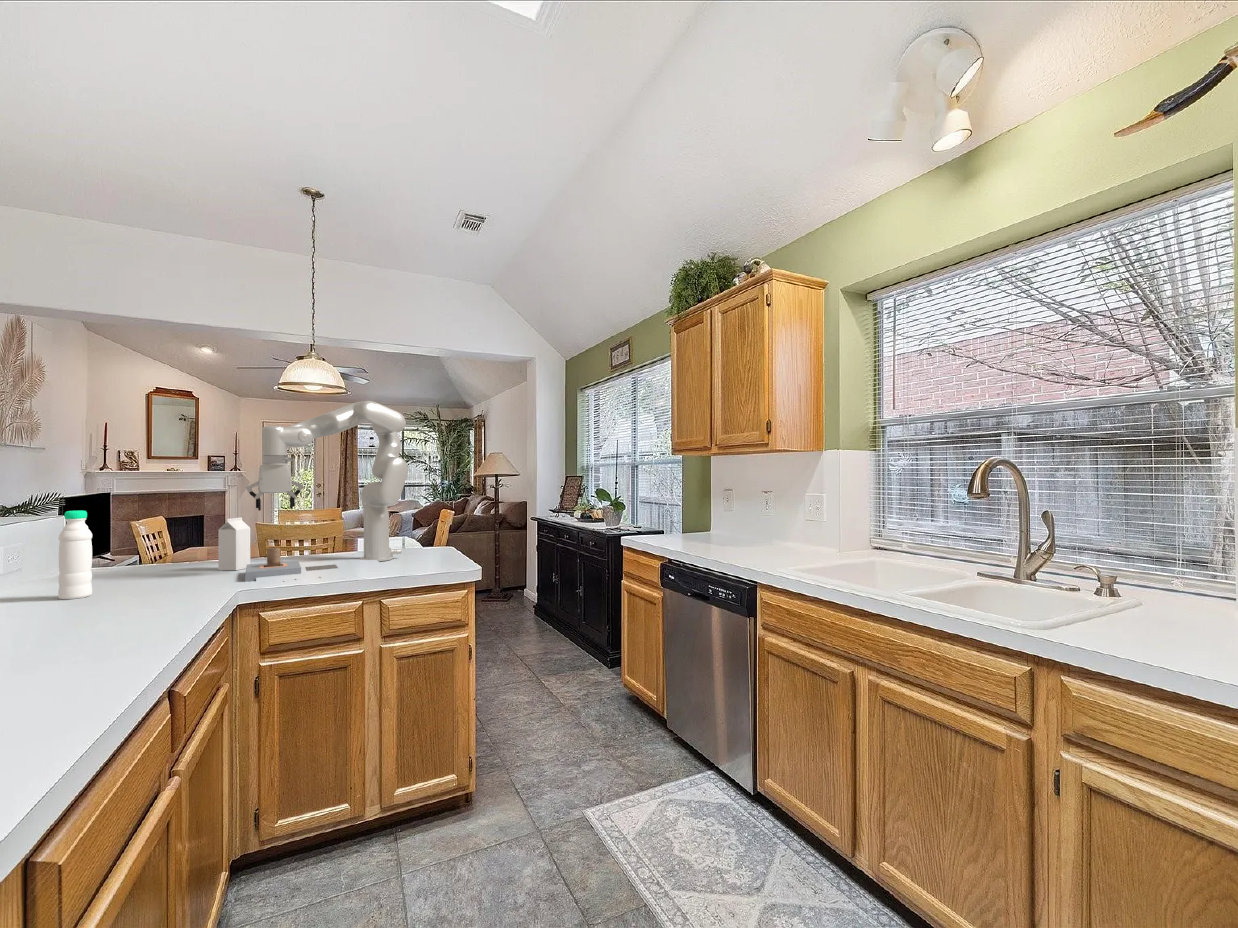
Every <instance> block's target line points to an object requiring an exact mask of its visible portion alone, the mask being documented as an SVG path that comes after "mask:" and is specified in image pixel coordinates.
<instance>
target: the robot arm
mask: <svg viewBox="0 0 1238 928" xmlns="http://www.w3.org/2000/svg"><path fill="white" fill-rule="evenodd" d="M365 423H371V425H370V426H371V428H372V430H373V431H374V433H375V434H376V436H377V438H378V448H377V452H376V454H375V457H374V462H373V464H372V469H371V472H372V473H371V474H372V475H373V477H374V478H376V479H378V480H381V481H373V482H372V481H370V482H368V483H366V484H365V485H364V486H363V487H362V489H361V493H360V496H361V497H360V499H361V500H360V501H361V503H362V512H363V556H360V557H359V560H363V561H377V562H386V561H387V562H388V561H391V560H393V559H394V555H395V554H396V555H398V554H399V555H401V554H402V553H403V552H402V548H394V549H393V548H391V547H390V512H389V508H388V507H390V506H393V505H396V504H397V502H398V501H399V500H400V498H401V496H402V493H403V490H404V486H405V483H406V479H407V476H408V471H409V469H408V468H409V467H408V464H407V462H406V460H405V459H404V458H402V457H401V456H400V453H401V448H402V447H401V446H402V445H401V444H402V443H401V438H400V436H399V435H398V434H399V433H400V432H402V431H404V429H405V428H406V425H407V422H406V418H405V417H404V415H403V414H402V413H400V412H399V411H397V410H395V409H393V408H390V407H388V406H385V405H383V404H381V403H378V402H376V401H374V400H362V401H356V402H353V403H351V404H347V405H345V406H342V407H339V408H336V409H334V410H331V411H329V412H326V413H323V414H320V415H318V416H315V417H312V418H309V419H306V420H303V421H300V422H298V423H294V424H292V425H289V426H283V425H282V426H281V425H266V426H263V427H262V429H261V454H262V456H261V457H262V459H261V460H262V462H261V463H262V464H260V465H259V467H258V476H257V477H258V479H257V481H255V482H254V483H251V484H250V485H247V486H246V487H245V489H246V491H247V492H248V493H249V495H251V496H252V497H253V498H254V499H255V509H258V511H261V510H262V506H261V505H262V504H261V503H262V502H261V501H262V500H261V497H262V495H263V494H285V493H287V494H288V495H289V496H290V497H289V508H290V510H293V509H294V507H296V501H295V500H296V498H297V496H298V495H299V494H300V493H301V492H302V491H303V488H304V485H303V484H302V483H299V482H297V481H294V480H292V479H293V478H292V471H291V467H290V464H288V463H290V462H292V461H293V458H292V457H289V456H288V448H290V449H291V448H303V447H306V446H308V445H310V444H311V443H312V441H313V440H315V439H317V438H318V439H319V438H322V437H327V436H329V437H330V436H333V435H336V434H340V433H342V432H344V431H346V430H349V429H352V428H354V427H356V426H360V425H361V424H365ZM293 486H295V487H297V489H296V490H295V492H293V491H292V489H293ZM254 487H255V488H256V487H257V490H258V493H257V494H256V493H255V492H254V491H253V490H252V489H253V488H254Z"/></svg>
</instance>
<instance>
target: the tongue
mask: <svg viewBox="0 0 1238 928" xmlns="http://www.w3.org/2000/svg"><path fill="white" fill-rule="evenodd" d="M304 567H305V570H306V571H307V572H311V571H321V570H332V569H335V570H336V569H339V567H338V566H337V564H326V565H314V566H304Z"/></svg>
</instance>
